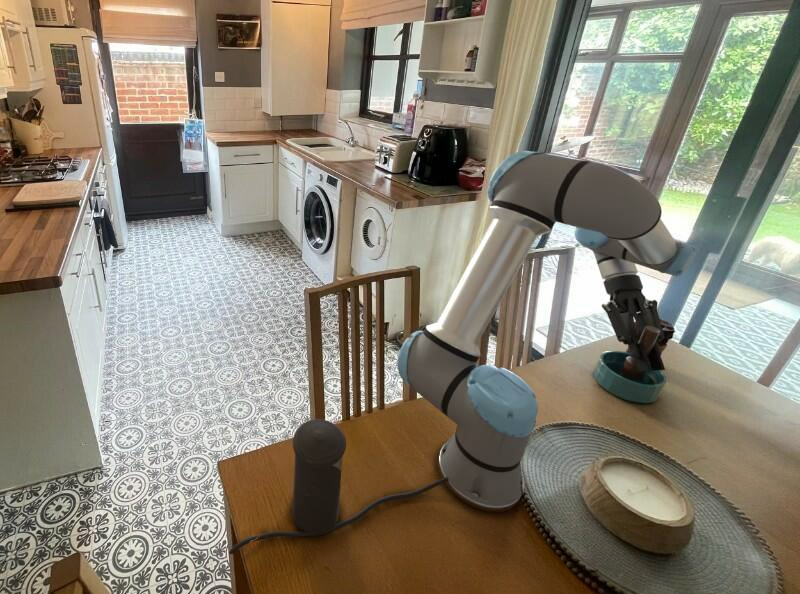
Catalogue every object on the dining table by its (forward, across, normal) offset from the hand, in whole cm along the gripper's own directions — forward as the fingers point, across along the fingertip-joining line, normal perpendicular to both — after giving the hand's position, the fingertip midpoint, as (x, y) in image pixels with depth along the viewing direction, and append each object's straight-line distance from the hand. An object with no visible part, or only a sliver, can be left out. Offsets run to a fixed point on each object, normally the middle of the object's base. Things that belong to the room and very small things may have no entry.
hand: (651, 370), depth 98 cm
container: (+22, +85, +11) cm, 89 cm away
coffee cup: (-2, -10, -14) cm, 17 cm away
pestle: (+1, 0, -6) cm, 6 cm away
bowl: (+3, +2, -8) cm, 9 cm away
